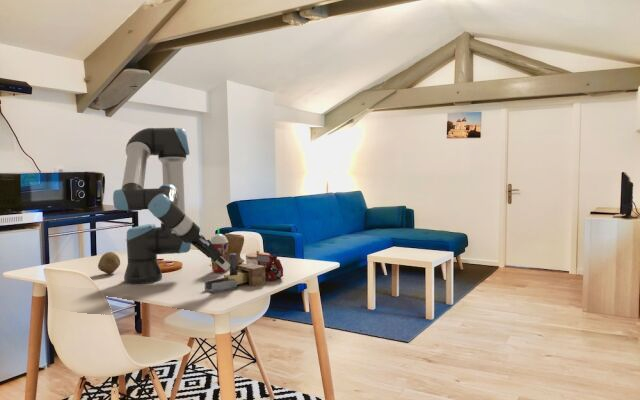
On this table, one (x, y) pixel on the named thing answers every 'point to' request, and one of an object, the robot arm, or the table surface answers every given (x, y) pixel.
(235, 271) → the brass block with handle
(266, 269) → the toy fire truck
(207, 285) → the channel
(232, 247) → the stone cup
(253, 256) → the lidded jar
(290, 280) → the table surface
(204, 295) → the table surface
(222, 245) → the smoothie
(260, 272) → the socket
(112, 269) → the natural sponge
